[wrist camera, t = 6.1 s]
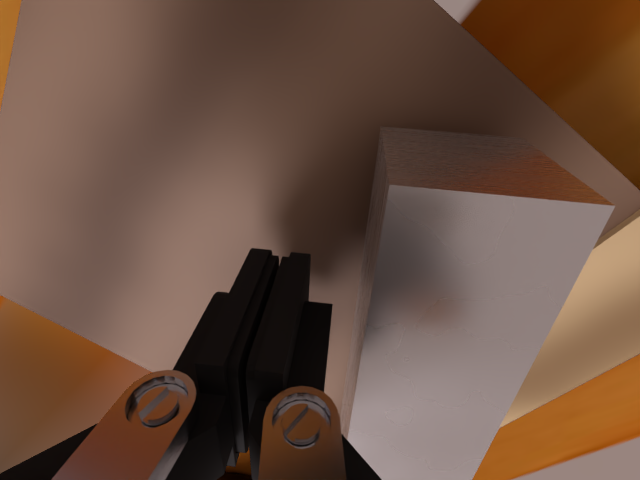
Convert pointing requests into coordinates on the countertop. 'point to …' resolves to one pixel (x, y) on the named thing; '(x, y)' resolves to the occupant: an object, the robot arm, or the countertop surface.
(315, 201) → the stool seat
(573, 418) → the countertop surface
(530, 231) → the stool leg
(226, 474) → the supplement bottle
